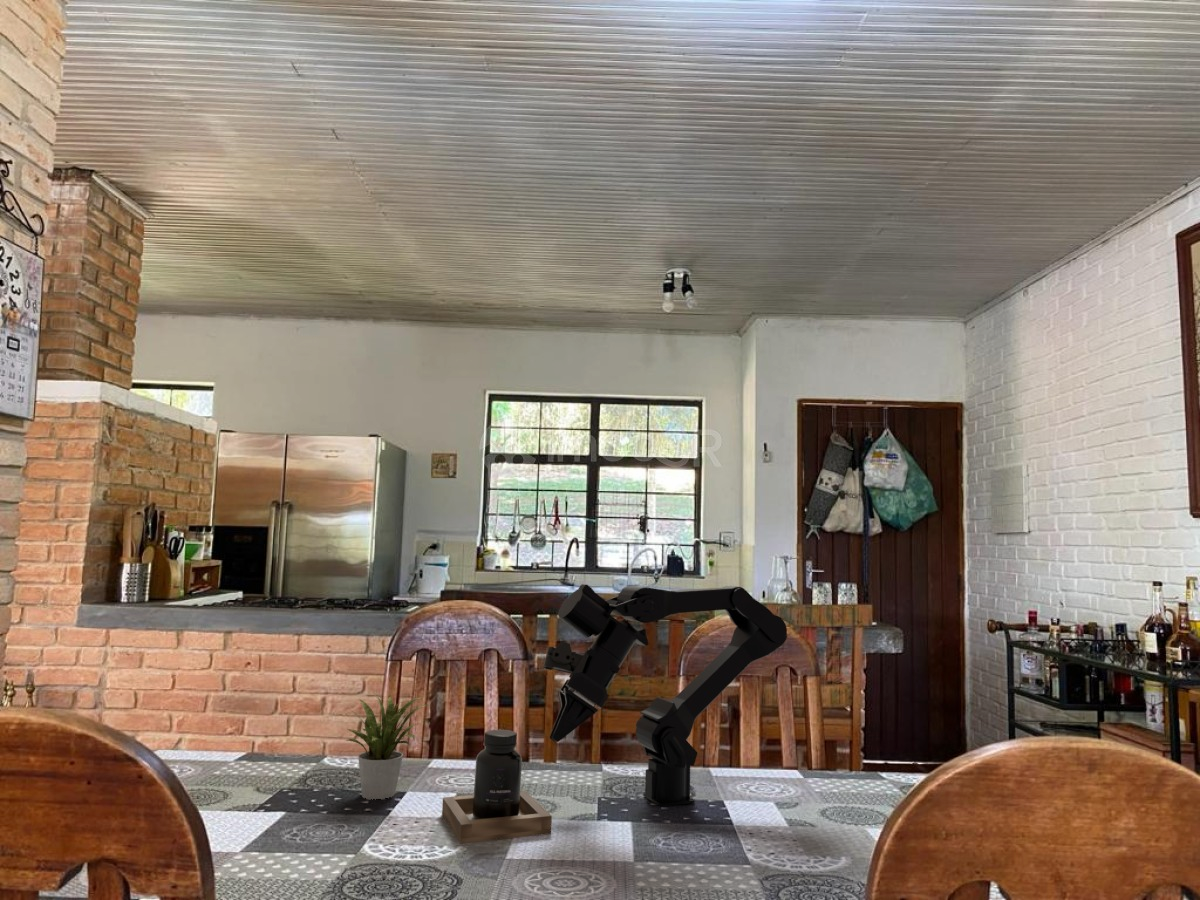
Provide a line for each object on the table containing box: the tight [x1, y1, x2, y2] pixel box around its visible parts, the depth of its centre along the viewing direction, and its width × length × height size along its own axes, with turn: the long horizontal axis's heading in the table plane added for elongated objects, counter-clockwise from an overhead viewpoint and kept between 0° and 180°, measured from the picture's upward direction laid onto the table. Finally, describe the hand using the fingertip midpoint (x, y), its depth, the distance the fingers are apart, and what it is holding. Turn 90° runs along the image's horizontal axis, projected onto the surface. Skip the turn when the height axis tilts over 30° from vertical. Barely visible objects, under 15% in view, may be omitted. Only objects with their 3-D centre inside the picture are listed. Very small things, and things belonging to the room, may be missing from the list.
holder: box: [441, 790, 553, 844], centre depth 116 cm, size 13×13×2 cm
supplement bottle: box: [473, 729, 523, 820], centre depth 117 cm, size 7×7×12 cm
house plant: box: [344, 692, 430, 801], centre depth 130 cm, size 14×14×16 cm
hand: (553, 740), depth 123 cm, fingers open, 9 cm apart
